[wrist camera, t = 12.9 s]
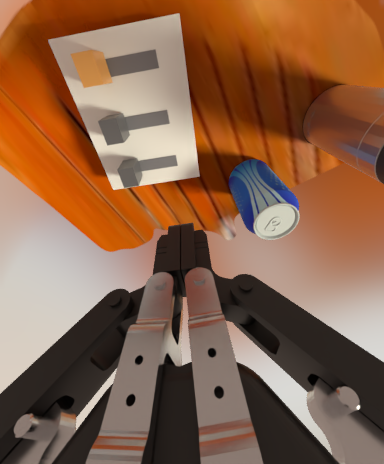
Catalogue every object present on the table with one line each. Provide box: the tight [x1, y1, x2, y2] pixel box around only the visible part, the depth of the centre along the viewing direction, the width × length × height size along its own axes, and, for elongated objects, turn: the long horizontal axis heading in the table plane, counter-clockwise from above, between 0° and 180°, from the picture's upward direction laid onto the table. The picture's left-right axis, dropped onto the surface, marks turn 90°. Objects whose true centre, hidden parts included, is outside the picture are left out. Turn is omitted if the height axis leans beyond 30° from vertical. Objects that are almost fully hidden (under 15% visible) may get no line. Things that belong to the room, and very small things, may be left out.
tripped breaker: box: [71, 50, 113, 88], centre depth 24 cm, size 2×3×4 cm
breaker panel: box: [48, 13, 200, 190], centre depth 31 cm, size 16×20×5 cm
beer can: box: [229, 159, 299, 240], centre depth 35 cm, size 8×8×16 cm
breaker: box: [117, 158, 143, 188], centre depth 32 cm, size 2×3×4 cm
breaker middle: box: [98, 113, 130, 146], centre depth 28 cm, size 2×3×4 cm
